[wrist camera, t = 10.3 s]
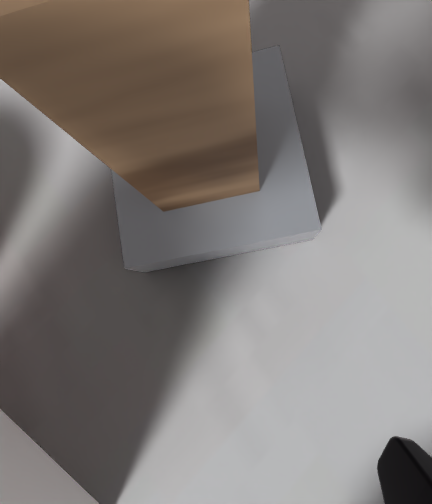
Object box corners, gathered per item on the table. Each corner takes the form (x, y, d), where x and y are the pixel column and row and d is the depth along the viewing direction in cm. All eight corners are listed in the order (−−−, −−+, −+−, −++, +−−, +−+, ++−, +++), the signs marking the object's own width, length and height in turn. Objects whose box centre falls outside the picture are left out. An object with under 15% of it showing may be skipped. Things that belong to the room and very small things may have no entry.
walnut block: (259, 191, 17) (245, -60, 5) (163, 211, 17) (-55, 33, 6) (241, 99, 17) (189, -307, 6) (149, 122, 18) (-70, -202, 6)
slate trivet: (313, 239, 19) (321, 229, 16) (145, 272, 20) (124, 268, 17) (277, 80, 20) (279, 44, 18) (122, 120, 22) (100, 92, 19)
